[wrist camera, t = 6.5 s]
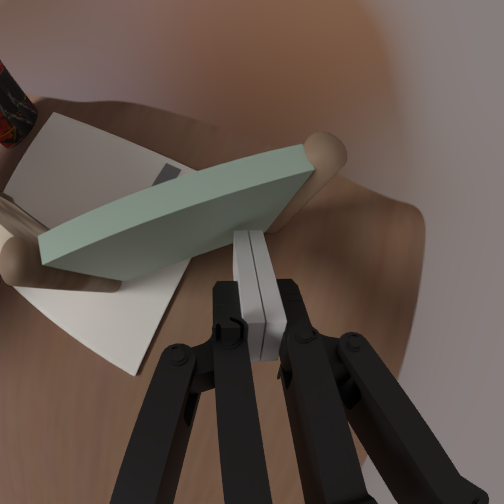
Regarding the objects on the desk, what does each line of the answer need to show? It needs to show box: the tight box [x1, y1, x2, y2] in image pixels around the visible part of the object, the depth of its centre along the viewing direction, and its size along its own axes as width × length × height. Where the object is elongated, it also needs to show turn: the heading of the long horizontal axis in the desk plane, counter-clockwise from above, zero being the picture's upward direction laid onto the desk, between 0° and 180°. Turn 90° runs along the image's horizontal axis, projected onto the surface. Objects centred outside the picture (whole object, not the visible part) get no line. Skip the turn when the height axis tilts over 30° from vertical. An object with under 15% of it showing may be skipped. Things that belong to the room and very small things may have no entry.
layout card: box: [3, 112, 197, 376], centre depth 20 cm, size 22×17×1 cm
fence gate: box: [38, 132, 347, 281], centre depth 15 cm, size 13×2×11 cm, turn 110°
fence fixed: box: [0, 191, 122, 293], centre depth 13 cm, size 17×4×12 cm, turn 64°
